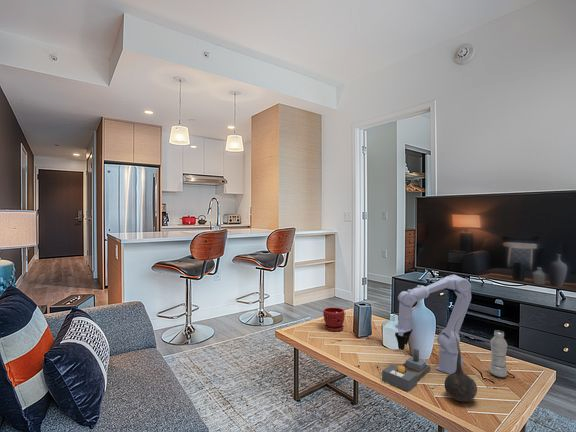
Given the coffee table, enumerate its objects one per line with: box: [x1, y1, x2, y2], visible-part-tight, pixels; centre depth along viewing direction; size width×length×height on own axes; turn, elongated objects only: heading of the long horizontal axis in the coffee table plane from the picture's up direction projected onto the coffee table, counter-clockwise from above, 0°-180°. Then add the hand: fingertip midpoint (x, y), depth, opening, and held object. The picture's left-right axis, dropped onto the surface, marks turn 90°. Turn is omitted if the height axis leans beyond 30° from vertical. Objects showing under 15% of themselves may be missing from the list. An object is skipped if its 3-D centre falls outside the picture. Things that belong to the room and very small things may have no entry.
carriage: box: [405, 348, 427, 372], centre depth 151 cm, size 7×6×8 cm
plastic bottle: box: [489, 329, 508, 378], centre depth 147 cm, size 6×7×20 cm
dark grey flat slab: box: [401, 361, 431, 383], centre depth 149 cm, size 10×16×2 cm, turn 134°
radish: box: [444, 321, 478, 403], centre depth 129 cm, size 11×14×30 cm
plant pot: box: [322, 307, 346, 332], centre depth 204 cm, size 13×13×12 cm
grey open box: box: [381, 364, 418, 392], centre depth 140 cm, size 12×8×5 cm, turn 44°
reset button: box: [397, 364, 405, 374], centre depth 141 cm, size 3×3×4 cm
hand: (403, 346), depth 152 cm, fingers open, 7 cm apart
